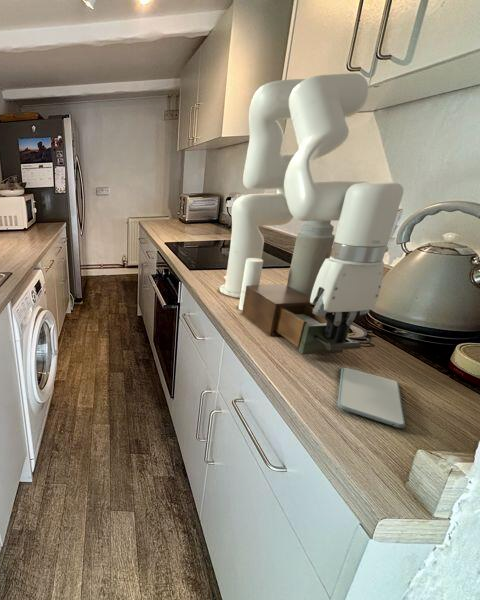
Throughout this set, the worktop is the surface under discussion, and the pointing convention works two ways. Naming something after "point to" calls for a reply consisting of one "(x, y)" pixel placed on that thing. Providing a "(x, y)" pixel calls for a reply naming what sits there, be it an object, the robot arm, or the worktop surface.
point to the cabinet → (270, 304)
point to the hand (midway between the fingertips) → (332, 340)
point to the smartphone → (371, 397)
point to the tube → (250, 276)
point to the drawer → (308, 331)
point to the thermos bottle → (310, 255)
